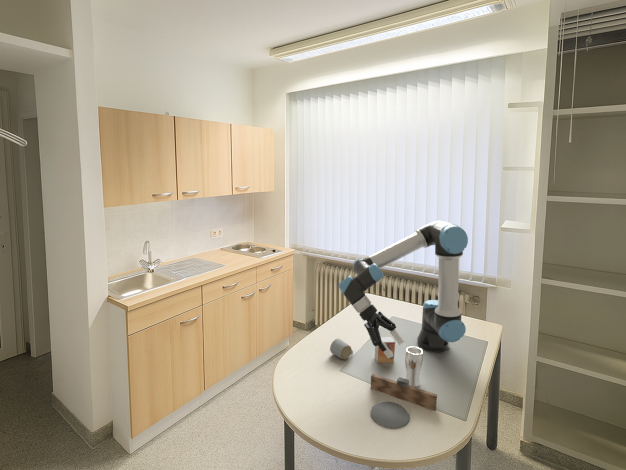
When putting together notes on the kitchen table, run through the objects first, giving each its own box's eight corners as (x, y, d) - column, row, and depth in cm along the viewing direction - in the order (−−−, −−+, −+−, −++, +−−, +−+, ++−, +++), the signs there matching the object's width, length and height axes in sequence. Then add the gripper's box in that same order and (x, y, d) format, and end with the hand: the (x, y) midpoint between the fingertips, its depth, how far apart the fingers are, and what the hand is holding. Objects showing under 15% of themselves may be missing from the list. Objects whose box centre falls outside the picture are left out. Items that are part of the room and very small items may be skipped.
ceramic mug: (341, 362, 173) (342, 347, 172) (329, 355, 179) (329, 340, 178) (357, 355, 180) (357, 340, 178) (344, 348, 186) (345, 334, 184)
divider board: (370, 389, 153) (370, 371, 152) (372, 386, 155) (373, 368, 154) (434, 411, 140) (436, 392, 138) (436, 408, 142) (437, 389, 140)
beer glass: (401, 378, 161) (403, 346, 158) (417, 377, 161) (419, 345, 158) (407, 388, 154) (409, 355, 151) (423, 387, 154) (425, 354, 151)
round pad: (404, 403, 145) (404, 401, 144) (413, 428, 131) (413, 427, 131) (368, 402, 145) (368, 401, 145) (373, 427, 131) (373, 426, 131)
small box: (377, 363, 172) (378, 342, 170) (374, 357, 178) (375, 336, 176) (394, 363, 173) (395, 342, 171) (390, 356, 178) (392, 336, 176)
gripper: (370, 303, 175) (400, 341, 170) (346, 323, 154) (379, 367, 150) (382, 295, 171) (412, 334, 167) (358, 314, 150) (392, 358, 146)
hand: (396, 349), depth 158 cm, fingers open, 13 cm apart
